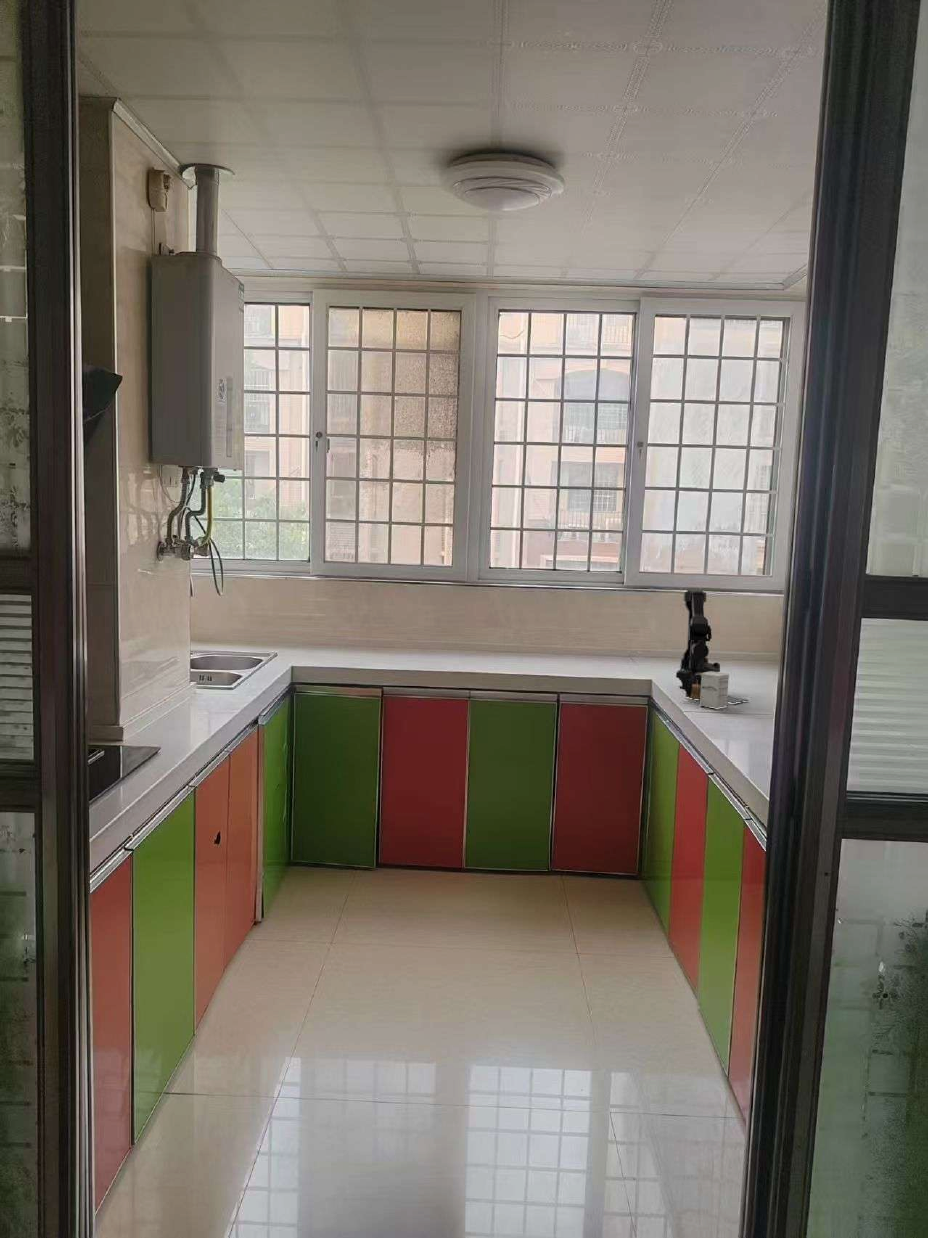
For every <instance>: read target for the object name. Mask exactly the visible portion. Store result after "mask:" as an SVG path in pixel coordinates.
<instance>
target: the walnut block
mask: <svg viewBox="0 0 928 1238" xmlns="http://www.w3.org/2000/svg"><path fill="white" fill-rule="evenodd" d="M700 692H701V685H696V684H692V691H691V696H690V697H689V696H687V694H686V693H685V698H686V697H689V698H692V699H700ZM692 699H691V700H692Z"/></svg>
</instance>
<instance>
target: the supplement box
mask: <svg viewBox="0 0 928 1238" xmlns="http://www.w3.org/2000/svg"><path fill="white" fill-rule="evenodd" d="M729 677H730V674H728V673H724V672H713V671H710V672H705V673H702V678H701V692H700V700H699V706H700V705H701V706H706V707H714V708H719V707H724V706H726V707H727V706H728V704H727V696H728V692H729ZM706 707H705V708H706Z"/></svg>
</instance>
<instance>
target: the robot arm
mask: <svg viewBox="0 0 928 1238" xmlns="http://www.w3.org/2000/svg"><path fill="white" fill-rule="evenodd" d="M683 602H684V606H685V608H686V610H687V613H688V614H687V615H688V620H687V621H688V622H687V639H686V641H687V643H686V644H687V645H686V649H685V651H684V653H683V654H682V658H680V664H679V670H678V671H676V673H675V674H676V675H675V678H677V679H678V680H679V681H680V682H681V685H679V686H678V688H679V687H680V688H679V689H684V691H685V695H686V694H687V696H689V697H690V696H691V691H692V684H696V685H701V678H702V673H705V672H710V671H713V672H719V673H721V670H720V669H721V663H719V662H713V663H712V662H711V663H710V662H709V659H708V655H709V652H710V651H709V646H708V645H707V642H711V640H712V639H713V637H712V635H713V634H712V628H711V625H709V620H708V619H707V618H706V616H705V614H704V613H705V612H704V610H705V609H704V605H705V603H706V602H707V592H704V591H703V590H700V589H697V590H696V589H687V590H686V591H684V592H683Z"/></svg>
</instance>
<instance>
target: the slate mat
mask: <svg viewBox="0 0 928 1238" xmlns="http://www.w3.org/2000/svg"><path fill="white" fill-rule="evenodd" d="M743 701H748V702H749V699H747V698H742V697H736V696H730V695H727V702H731V703H736V702H743Z"/></svg>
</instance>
